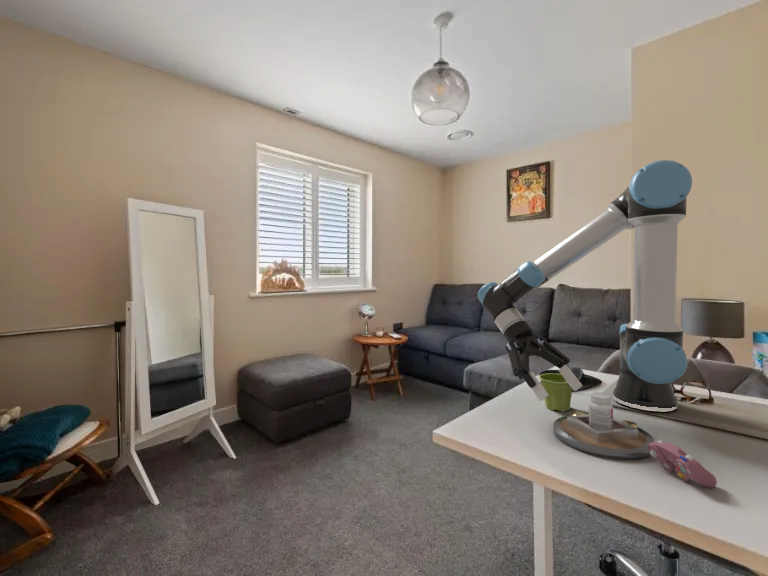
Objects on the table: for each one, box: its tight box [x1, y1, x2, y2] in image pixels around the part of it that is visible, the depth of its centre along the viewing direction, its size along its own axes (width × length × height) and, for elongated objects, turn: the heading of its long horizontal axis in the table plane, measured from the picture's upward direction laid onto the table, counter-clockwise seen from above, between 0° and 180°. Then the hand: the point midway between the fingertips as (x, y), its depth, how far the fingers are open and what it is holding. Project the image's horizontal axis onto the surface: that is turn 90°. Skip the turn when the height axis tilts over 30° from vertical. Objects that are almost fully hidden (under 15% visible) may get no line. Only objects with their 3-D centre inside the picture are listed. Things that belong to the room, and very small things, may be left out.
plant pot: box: [538, 372, 573, 412], centre depth 102 cm, size 9×9×9 cm
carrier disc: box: [552, 411, 656, 461], centre depth 83 cm, size 20×20×4 cm
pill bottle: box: [588, 391, 614, 431], centre depth 83 cm, size 5×5×8 cm
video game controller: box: [647, 439, 718, 489], centre depth 67 cm, size 10×5×7 cm, turn 6°
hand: (562, 393), depth 91 cm, fingers open, 13 cm apart
